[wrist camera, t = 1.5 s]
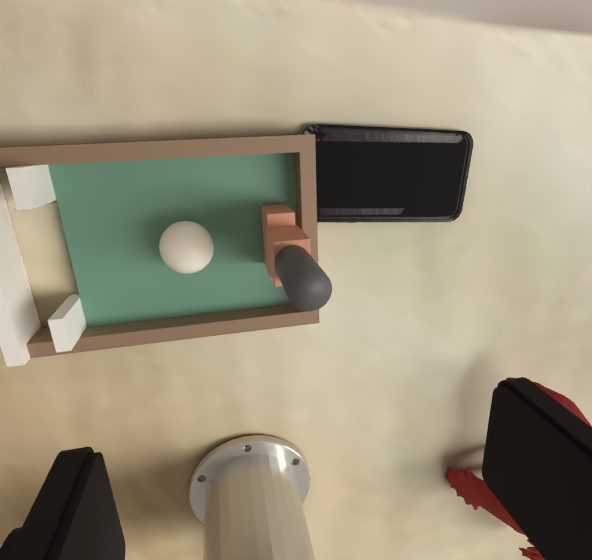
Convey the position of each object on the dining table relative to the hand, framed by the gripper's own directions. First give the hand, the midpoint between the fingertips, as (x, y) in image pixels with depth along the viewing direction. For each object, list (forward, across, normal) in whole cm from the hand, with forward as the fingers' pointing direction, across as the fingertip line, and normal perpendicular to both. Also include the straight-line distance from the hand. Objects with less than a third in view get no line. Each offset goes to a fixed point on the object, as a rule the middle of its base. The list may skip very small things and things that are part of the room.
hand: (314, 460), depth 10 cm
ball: (+24, +4, 0) cm, 24 cm away
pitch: (+26, +5, 0) cm, 27 cm away
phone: (+27, -13, -4) cm, 30 cm away
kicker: (+25, -3, 0) cm, 25 cm away
